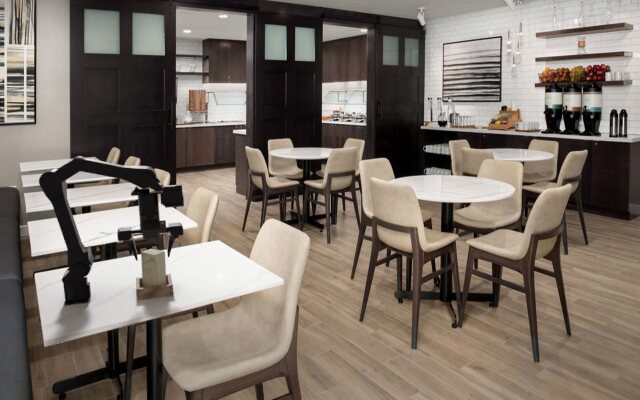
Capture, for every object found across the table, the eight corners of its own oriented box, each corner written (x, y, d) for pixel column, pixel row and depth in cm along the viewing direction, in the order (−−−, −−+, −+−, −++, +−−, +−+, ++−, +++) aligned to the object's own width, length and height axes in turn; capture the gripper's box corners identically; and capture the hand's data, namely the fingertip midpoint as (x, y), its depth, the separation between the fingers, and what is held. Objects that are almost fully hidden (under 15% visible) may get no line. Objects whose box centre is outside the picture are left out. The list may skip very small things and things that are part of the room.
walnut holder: (136, 300, 157) (135, 289, 156) (136, 287, 166) (135, 277, 166) (173, 295, 160) (172, 285, 159) (171, 283, 170) (170, 273, 169)
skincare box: (142, 289, 163) (139, 251, 160) (153, 284, 167) (150, 248, 164) (157, 293, 160) (154, 254, 157) (168, 288, 164) (165, 251, 161)
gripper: (114, 217, 147) (119, 270, 151) (183, 211, 153) (186, 263, 157) (115, 209, 158) (120, 259, 161) (180, 204, 164) (183, 252, 167)
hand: (152, 258), depth 161 cm, fingers open, 9 cm apart
